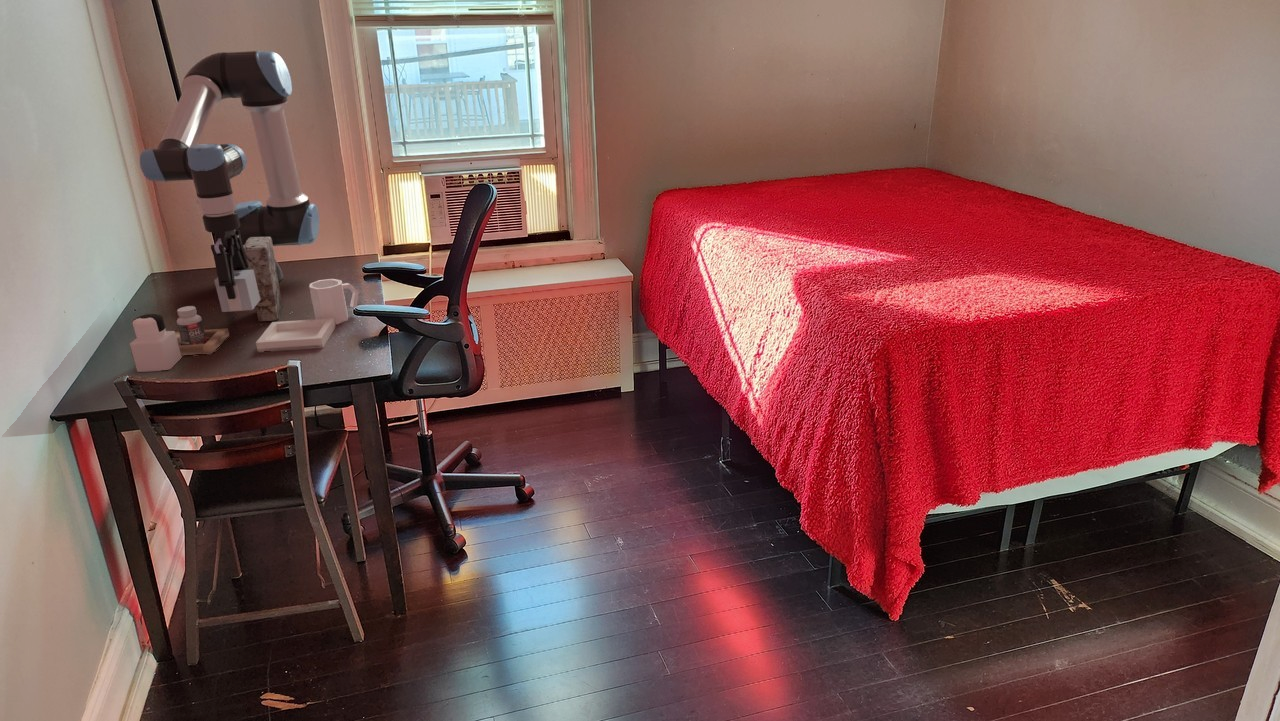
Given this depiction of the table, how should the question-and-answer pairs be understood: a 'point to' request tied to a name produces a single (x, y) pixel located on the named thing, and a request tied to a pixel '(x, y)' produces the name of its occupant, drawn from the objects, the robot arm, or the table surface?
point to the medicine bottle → (154, 344)
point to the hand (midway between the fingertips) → (241, 304)
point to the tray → (296, 335)
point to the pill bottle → (190, 326)
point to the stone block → (264, 277)
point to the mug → (331, 299)
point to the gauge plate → (214, 341)
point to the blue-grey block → (241, 290)
